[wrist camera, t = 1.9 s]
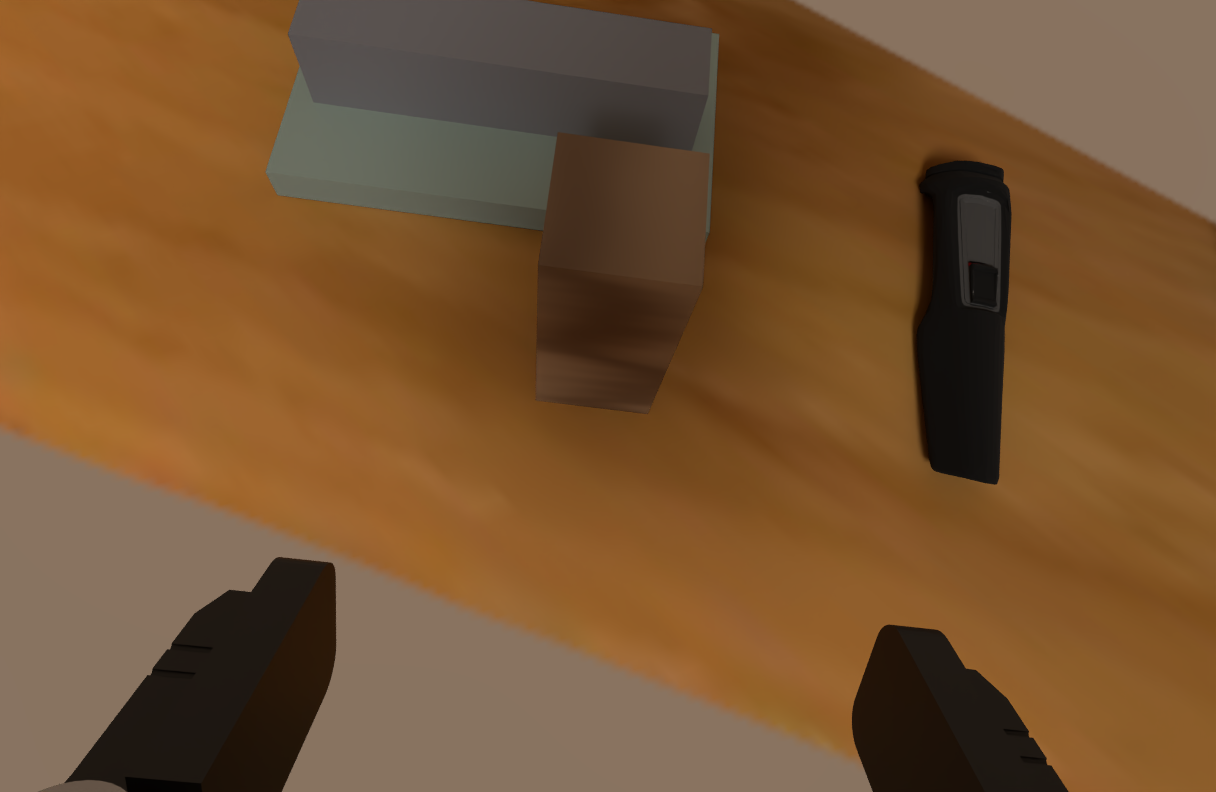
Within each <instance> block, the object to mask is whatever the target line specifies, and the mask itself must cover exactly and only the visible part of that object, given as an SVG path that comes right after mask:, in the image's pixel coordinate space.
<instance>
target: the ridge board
mask: <svg viewBox="0 0 1216 792" xmlns="http://www.w3.org/2000/svg"><path fill="white" fill-rule="evenodd" d="M288 36H289V38H290V41H291V44H292V46H293V49H294V52H295V54H296V57H297V60H298V62H299V65H300V67H299V70H298V73H297V76H296V80H295V83H294V86H293V89H292V92H291V95H290V98H289V101H288V104H287V107H286V110H285V113H284V116H283V120H282V123H281V126H280V129H279V132H278V135H277V138H276V141H275V144H274V147H273V150H272V153H271V157H270V160H269V163H268V166H267V169H266V174H267V176H268V178H269V180H270V182H271V183H272V185H273V187H274V189H275V191H276V193H277V195H281V196H288V197H296V198H303V199H311V200H318V201H326V202H333V203H341V204H348V205H356V206H363V207H370V208H378V209H385V210H393V211H400V212H408V213H415V214H423V215H430V216H437V217H445V218H452V219H460V220H467V221H475V222H482V223H490V224H497V225H505V226H512V227H519V228H527V229H534V230H542V231H543V228H544V222H545V215H546V208H547V201H548V194H549V188H550V181H551V174H552V167H553V160H554V154H555V147H556V140H557V133H558V132H561V133H568V134H575V135H582V136H589V137H596V138H603V139H610V140H617V141H624V142H631V143H638V144H645V145H652V146H659V147H667V148H674V149H681V150H688V151H695V152H702V153H709V154H710V158H709V178H708V198H707V218H706V238H705V242H706V240H707V237H708V235H709V232H710V213H711V192H712V171H713V150H714V129H715V108H716V88H717V67H718V46H719V34H715V33H712V29H711V28H705V27H698V26H691V25H685V24H678V23H672V22H665V21H658V20H652V19H645V18H639V17H632V16H626V15H619V14H612V13H606V12H599V11H593V10H586V9H579V8H573V7H566V6H560V5H553V4H547V3H540V2H533V1H527V0H299V3H298V6H297V9H296V12H295V15H294V18H293V21H292V23H291V26H290V29H289V32H288Z"/></svg>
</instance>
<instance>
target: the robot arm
mask: <svg viewBox="0 0 1216 792" xmlns="http://www.w3.org/2000/svg"><path fill="white" fill-rule="evenodd" d="M335 580H336V576H335V568H334V565H333V564H332V563H329V562H320V561H311V560H301V559H292V558H283V557H278V558H276V559H274V560H273V561H272V563H271V564H270V565H269V567H268V568H267V570H266V571H265V573H264V574H263V576H262V577H261V578H260V580H259V581H258V583H257V584H256V586H255V587H254V589H253V590H252V592H245V591H235V590H229V591H227V592H226V593H224V594H223V595H221V596H220V597H218V598H217V599H216V600H214V601H212V602H211V603H210V604H208V605H206V606H205V607H203V608H202V609H201V610H199V611H198V612H196V613H195V614H194V615H193V616H192V618H191V619H190V620H189V622H188V623H187V624H186V626H185V627H184V628H183V629H182V631H181V632H180V633H179V635H178V636H177V637H176V639H175V640H174V641H173V642H172V646H171V649H170V650H166V652H165V653H164V654H163V656H162V657H161V659H160V660H159V661H158V662H157V663H156V665H155V666H154V667H153V670H152V674H151V675H147V677H146V678H145V679H144V680H143V682H142V683H141V684H140V686H139V687H138V688H137V690H136V691H135V692H134V694H133V695H132V696H131V698H130V699H129V700H128V702H127V703H126V704H125V705H124V707H123V708H122V709H121V711H120V712H119V713H118V715H117V716H116V717H115V718H114V720H113V721H112V722H111V724H110V725H109V726H108V728H107V729H106V731H105V732H104V733H103V734H102V735H101V737H100V738H99V739H98V741H97V742H96V743H95V745H94V746H93V747H92V749H91V750H90V751H89V753H88V754H87V755H86V756H85V758H84V759H83V760H82V762H81V763H80V764H79V766H78V767H77V768H76V770H75V771H74V772H73V774H72V775H71V776H70V777H69V778H68V779H67V781H66V782H65V783H63V784H59V785H56V786H53V787H50V788H47V789H44V790H42V791H39V792H282V790H283V787H284V785H285V783H286V781H287V779H288V776H289V774H290V772H291V769H292V767H293V765H294V763H295V761H296V759H297V756H298V754H299V752H300V750H301V747H302V745H303V743H304V741H305V738H306V736H307V734H308V732H309V730H310V727H311V725H312V723H313V721H314V719H315V716H316V714H317V712H318V710H319V707H320V705H321V703H322V701H323V699H324V696H325V694H326V692H327V689H328V686H329V683H330V680H331V676H332V672H333V667H334V661H335V654H336V583H335V582H336V581H335ZM852 730H853V737H854V742H855V745H856V749H857V751H858V754H859V757H860V759H861V762H862V764H863V767H864V770H865V772H866V775H867V778H868V780H869V783H870V785H871V788H872V791H873V792H1068V790H1067V789H1066V787H1065V786H1064V784H1063V783H1062V781H1061V780H1060V778H1059V777H1058V775H1057V774H1056V772H1055V771H1054V769H1053V767H1052V766H1050V765H1047V763H1046V759H1047V758H1046V757H1045V755H1044V754H1043V752H1042V751H1041V749H1040V748H1039V746H1038V745H1037V743H1036V742H1035V740H1034V739H1033V738H1030V737H1029V734H1028V733H1029V731H1028V729H1027V728H1026V726H1025V725H1024V723H1023V722H1022V720H1021V719H1020V717H1019V716H1018V714H1017V713H1016V711H1015V710H1014V708H1013V706H1012V705H1011V703H1010V702H1009V700H1008V699H1007V698H1006V697H1005V696H1004V695H1003V694H1002V693H1000V692H999V691H998V690H997V689H996V688H995V687H994V686H993V685H992V684H991V683H989V682H988V681H987V680H986V679H985V678H984V677H983V676H982V675H981V674H980V673H979V672H977V671H976V670H971V669H966V668H965V667H964V665H963V663H962V662H961V660H960V659H959V657H958V655H957V654H956V652H955V651H954V649H953V647H952V646H951V644H950V642H949V641H948V639H947V638H946V636H945V635H944V634H943V633H942V632H940V631H939V630H934V629H925V628H915V627H906V626H897V625H886V626H884V627H883V628H882V629H881V630H880V632H879V634H878V636H877V639H876V642H875V644H874V647H873V650H872V653H871V656H870V658H869V661H868V664H867V667H866V670H865V672H864V675H863V678H862V681H861V684H860V686H859V689H858V692H857V695H856V698H855V701H854V705H853V711H852Z"/></svg>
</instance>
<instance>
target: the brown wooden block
mask: <svg viewBox="0 0 1216 792" xmlns="http://www.w3.org/2000/svg"><path fill="white" fill-rule="evenodd" d="M709 158H710V154H709V153H702V152H695V151H688V150H681V149H674V148H667V147H659V146H652V145H645V144H638V143H631V142H624V141H617V140H610V139H603V138H596V137H589V136H582V135H575V134H568V133H561V132H558V133H557V140H556V147H555V154H554V160H553V167H552V174H551V181H550V188H549V194H548V201H547V208H546V215H545V222H544V228H543V235H542V242H541V249H540V256H539V262H538V300H537V355H536V400H537V401H545V402H553V403H562V404H570V405H578V406H586V407H595V408H603V409H611V410H620V411H628V412H636V413H644V414H648V412H649V410H650V407H651V405H652V403H653V400H654V398H655V396H656V393H657V391H658V389H659V387H660V384H661V382H662V380H663V377H664V375H665V373H666V371H667V368H668V366H669V364H670V361H671V359H672V357H673V354H674V352H675V350H676V348H677V345H678V343H679V341H680V338H681V336H682V334H683V331H684V329H685V327H686V325H687V322H688V320H689V318H690V315H691V313H692V311H693V308H694V306H695V304H696V302H697V299H698V297H699V295H700V292H701V290H702V288H703V278H704V258H705V238H706V218H707V198H708V178H709Z"/></svg>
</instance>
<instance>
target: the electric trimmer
mask: <svg viewBox="0 0 1216 792" xmlns="http://www.w3.org/2000/svg"><path fill="white" fill-rule="evenodd" d="M1003 177H1004V171H1003V169H1002V168H999V167H997V166H993V165H989V164H985V163H980V162H973V161H954V162H949V163H944V164H939V165H936V166H933V167H931V168H929V169H928V170H927V171H926V178H925V179H926V180H924V181H923V182H922V183H921V184H920V192H921V193H924V194H927V195H928V196H930V197H931V198H932V199H933V206H934V231H933V290H932V299H931V302H930V304H929V307H928V309H927V312H926V314H925V316H924V318H923V320H922V322H921V324H920V325H919V327H918V331H917V352H918V363H919V371H920V380H921V389H922V398H923V407H924V416H925V424H926V433H927V442H928V451H929V460H930V464H931V467H932V469H933V470H934V471H936V472H940V473H943V474H948V475H953V476H957V477H962V478H966V479H970V480H975V481H979V482H983V483H989V484H997V482H998V480H999V464H1000V439H1001V413H1002V391H1003V371H1004V342H1005V321H1006V313H1007V303H1008V290H1009V264H1010V238H1011V203H1010V192H1009V189H1008V187H1007V186H1006V185H1005V184H1004V183H1003Z"/></svg>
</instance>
